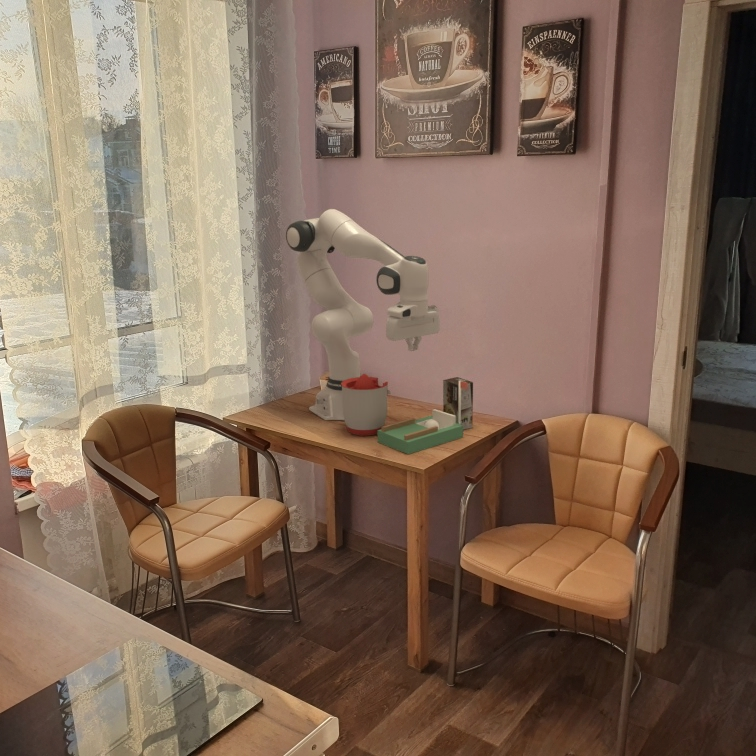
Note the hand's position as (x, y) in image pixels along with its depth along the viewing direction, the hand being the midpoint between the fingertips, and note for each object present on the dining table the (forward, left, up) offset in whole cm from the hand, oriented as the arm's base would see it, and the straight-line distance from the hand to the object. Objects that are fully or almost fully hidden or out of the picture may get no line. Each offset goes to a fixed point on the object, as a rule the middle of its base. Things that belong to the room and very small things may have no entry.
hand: (413, 350), depth 251 cm
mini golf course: (+5, -2, -29) cm, 29 cm away
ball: (+4, +2, -27) cm, 28 cm away
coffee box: (+3, +17, -29) cm, 34 cm away
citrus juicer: (-14, -9, -29) cm, 33 cm away
